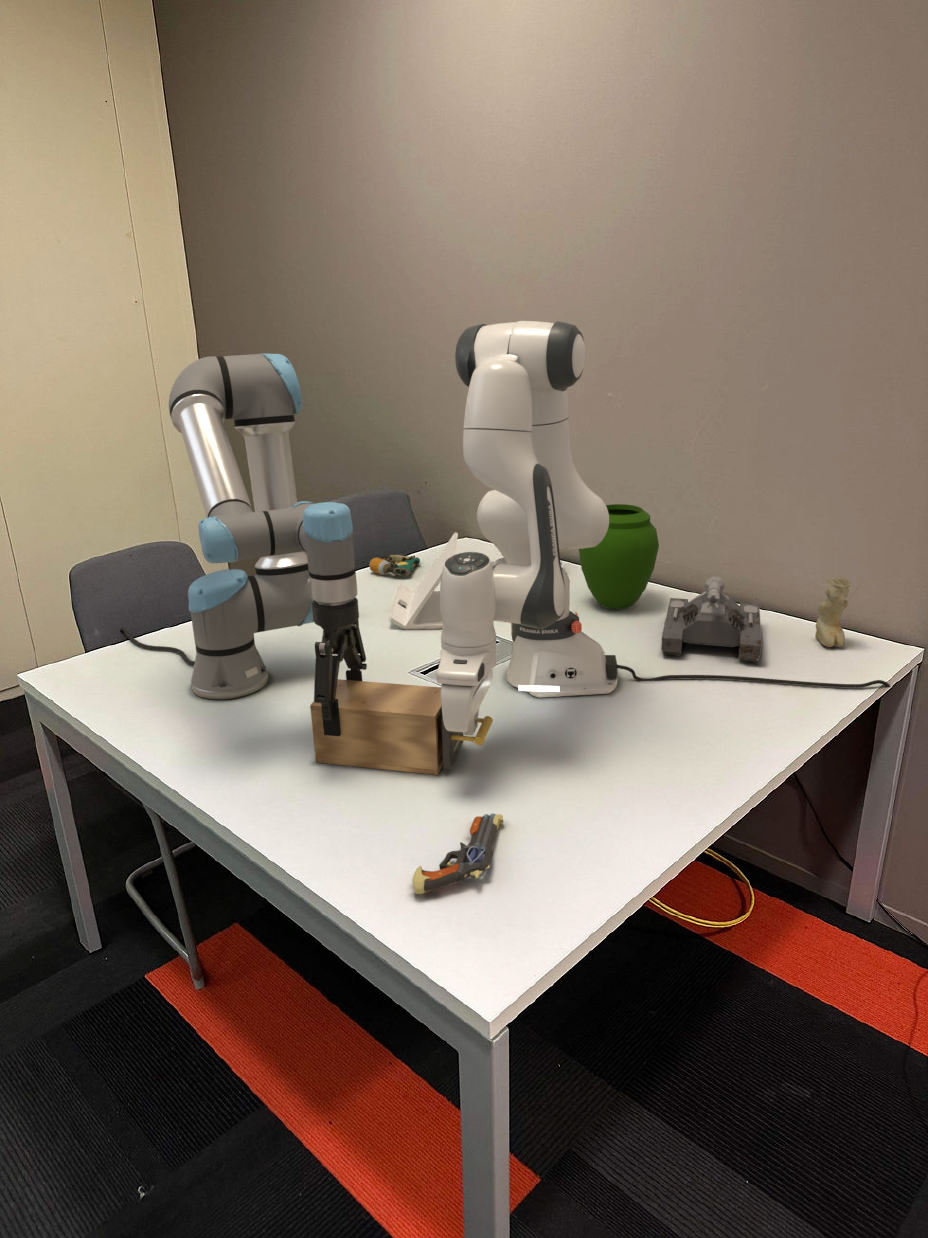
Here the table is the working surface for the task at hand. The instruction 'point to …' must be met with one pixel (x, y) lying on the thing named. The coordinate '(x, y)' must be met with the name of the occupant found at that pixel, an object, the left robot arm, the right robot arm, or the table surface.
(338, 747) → the cabinet
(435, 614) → the tablet stand
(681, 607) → the toy
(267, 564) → the left robot arm
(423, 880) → the toy gun
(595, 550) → the vase
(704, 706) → the table surface
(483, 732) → the drawer
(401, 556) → the spray gun
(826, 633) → the sculpture
